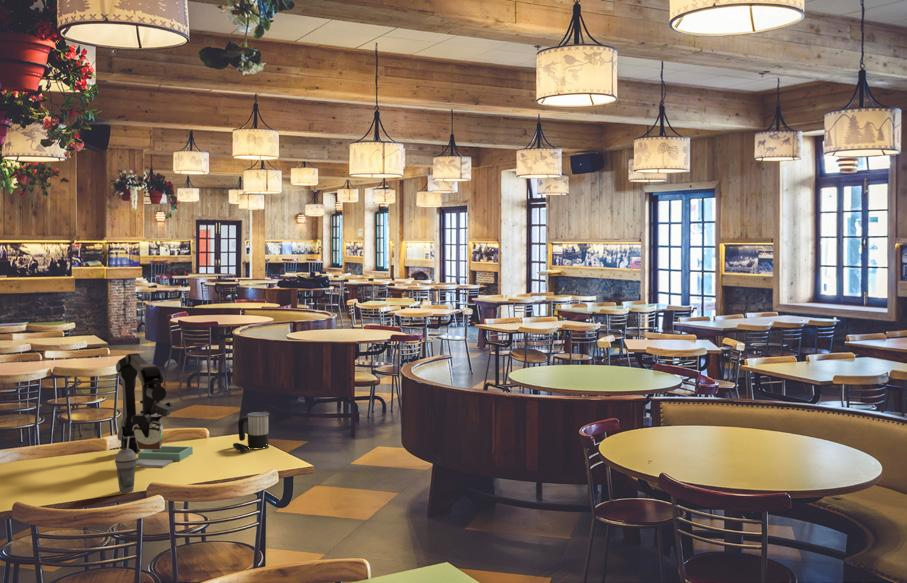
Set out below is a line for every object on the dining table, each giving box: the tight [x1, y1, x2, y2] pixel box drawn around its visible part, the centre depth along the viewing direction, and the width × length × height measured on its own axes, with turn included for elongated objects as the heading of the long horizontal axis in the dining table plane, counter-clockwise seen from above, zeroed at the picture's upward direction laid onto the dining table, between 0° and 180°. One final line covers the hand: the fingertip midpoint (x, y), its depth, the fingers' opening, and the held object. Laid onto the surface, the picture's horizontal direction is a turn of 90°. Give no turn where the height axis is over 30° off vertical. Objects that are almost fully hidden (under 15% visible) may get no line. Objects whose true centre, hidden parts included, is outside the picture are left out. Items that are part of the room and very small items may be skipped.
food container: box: [132, 421, 164, 451], centre depth 326 cm, size 12×6×10 cm, turn 83°
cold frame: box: [137, 445, 194, 462], centre depth 338 cm, size 18×12×3 cm, turn 83°
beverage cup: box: [114, 436, 138, 494], centre depth 289 cm, size 7×7×20 cm
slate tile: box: [135, 459, 173, 468], centre depth 326 cm, size 14×8×1 cm, turn 83°
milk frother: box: [232, 411, 270, 453], centre depth 350 cm, size 14×16×15 cm
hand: (150, 435), depth 326 cm, fingers closed on food container, 6 cm apart
